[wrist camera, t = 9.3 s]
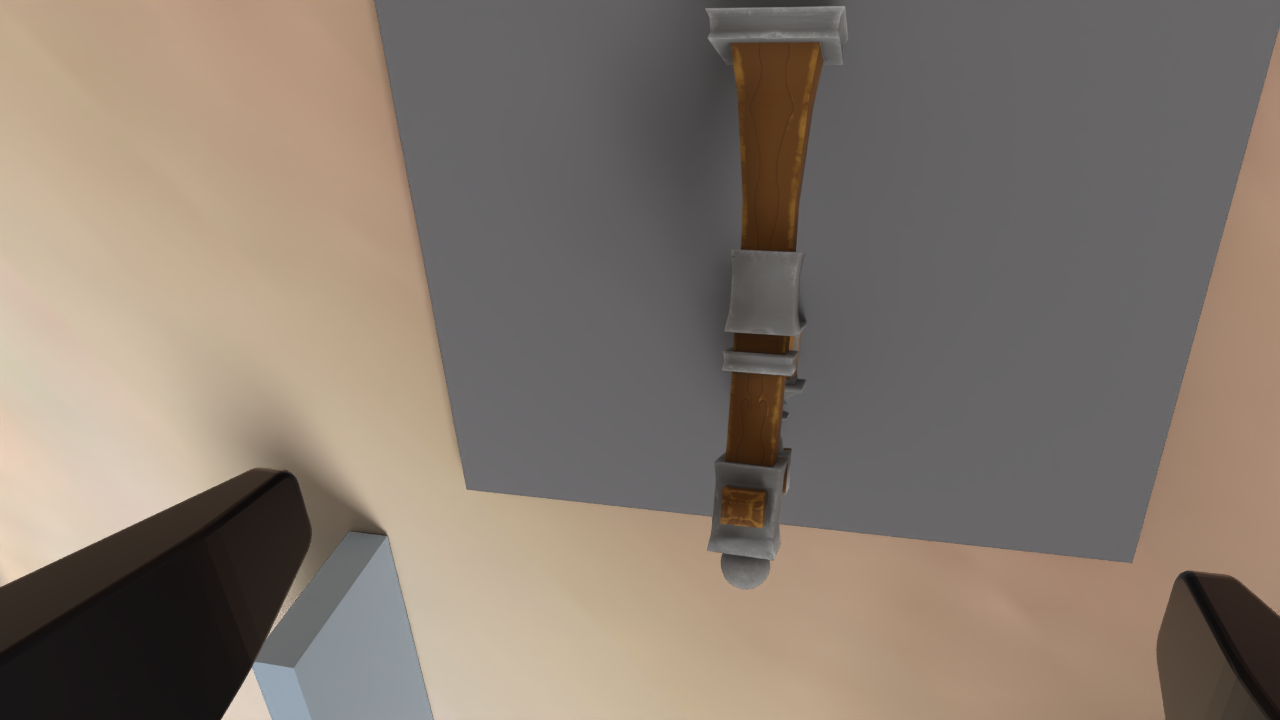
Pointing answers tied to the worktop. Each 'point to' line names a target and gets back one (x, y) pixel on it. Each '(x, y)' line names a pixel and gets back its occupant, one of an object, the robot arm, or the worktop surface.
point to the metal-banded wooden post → (766, 266)
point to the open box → (345, 644)
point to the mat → (832, 251)
